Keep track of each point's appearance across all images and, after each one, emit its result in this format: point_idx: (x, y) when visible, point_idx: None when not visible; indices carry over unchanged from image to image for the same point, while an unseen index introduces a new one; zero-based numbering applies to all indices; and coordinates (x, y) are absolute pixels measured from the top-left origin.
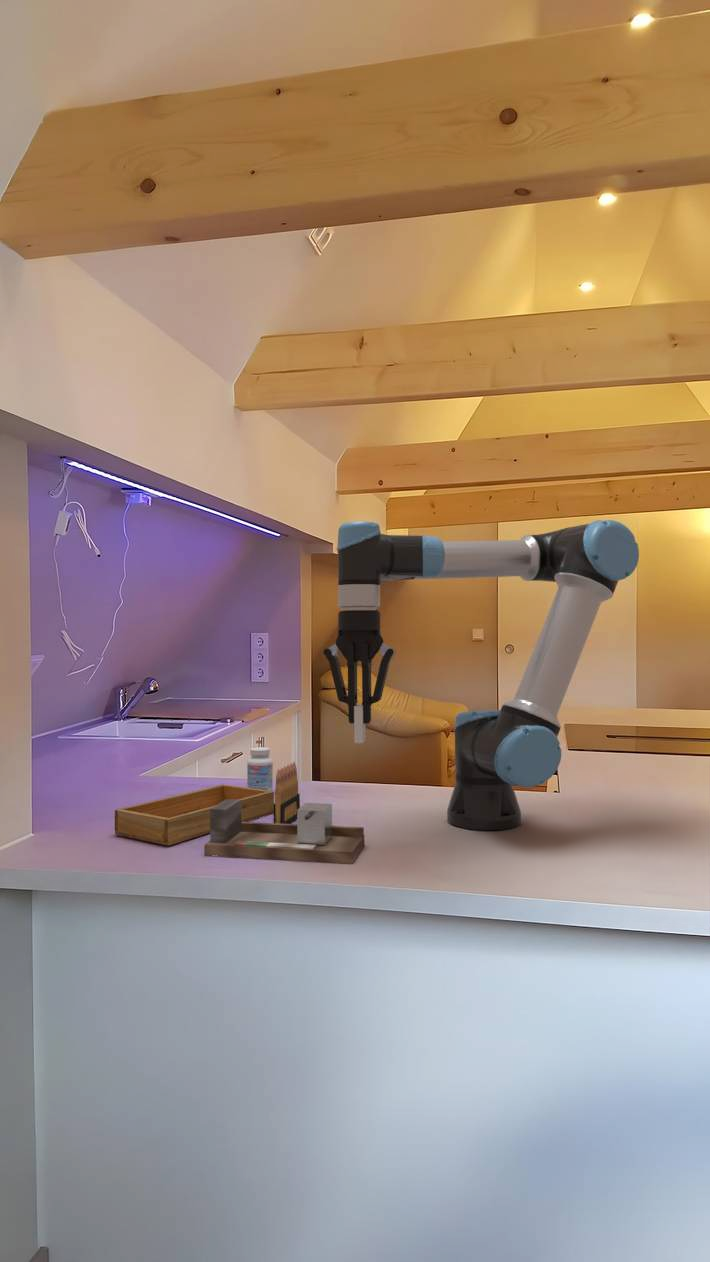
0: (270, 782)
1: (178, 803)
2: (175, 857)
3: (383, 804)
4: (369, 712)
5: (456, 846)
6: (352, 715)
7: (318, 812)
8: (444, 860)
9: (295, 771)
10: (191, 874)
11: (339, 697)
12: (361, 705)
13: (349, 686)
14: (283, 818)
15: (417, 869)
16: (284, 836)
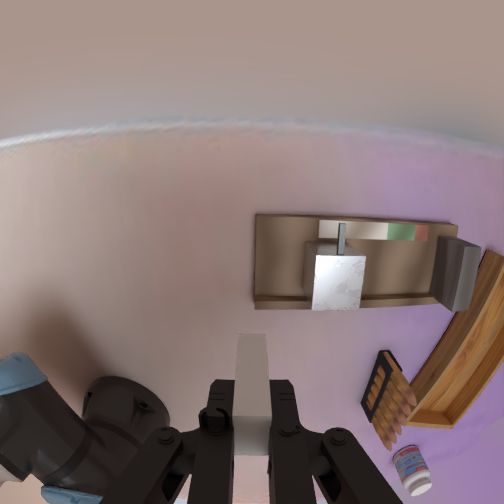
0: (399, 464)
1: (491, 363)
2: (473, 212)
3: (261, 459)
4: (207, 406)
5: (130, 314)
6: (279, 398)
7: (327, 255)
8: (133, 252)
9: (384, 440)
10: (443, 149)
11: (347, 440)
12: (244, 437)
13: (304, 489)
14: (382, 363)
15: (160, 206)
16: (372, 281)
